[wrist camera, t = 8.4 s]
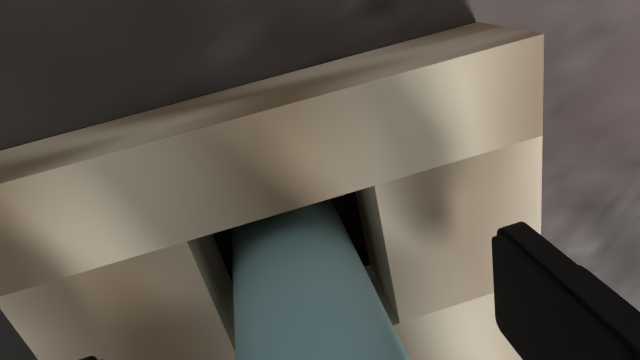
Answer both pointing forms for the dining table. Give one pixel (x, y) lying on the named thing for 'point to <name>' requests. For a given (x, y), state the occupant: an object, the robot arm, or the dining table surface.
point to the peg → (306, 292)
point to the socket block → (282, 199)
